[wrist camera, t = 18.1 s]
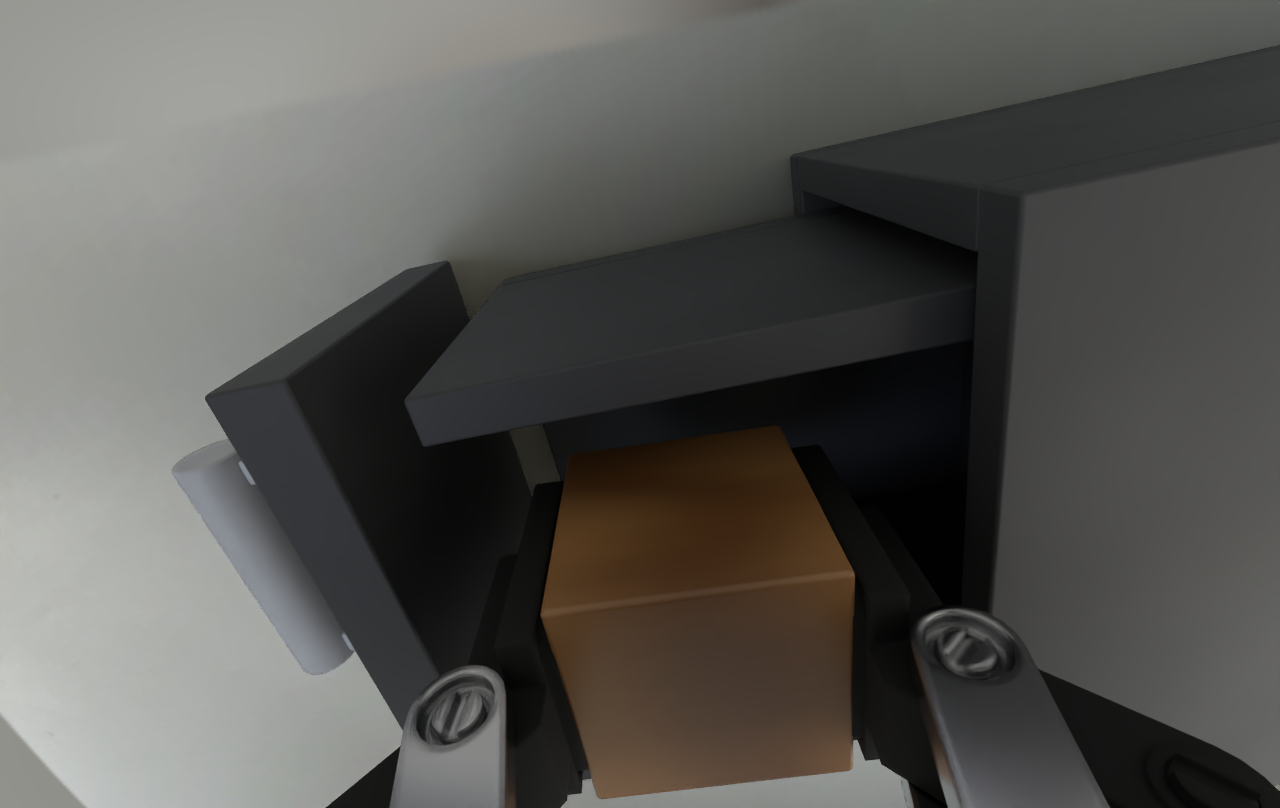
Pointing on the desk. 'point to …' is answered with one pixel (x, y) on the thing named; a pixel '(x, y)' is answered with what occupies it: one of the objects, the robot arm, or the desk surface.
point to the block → (700, 615)
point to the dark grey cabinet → (1116, 377)
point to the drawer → (577, 418)
